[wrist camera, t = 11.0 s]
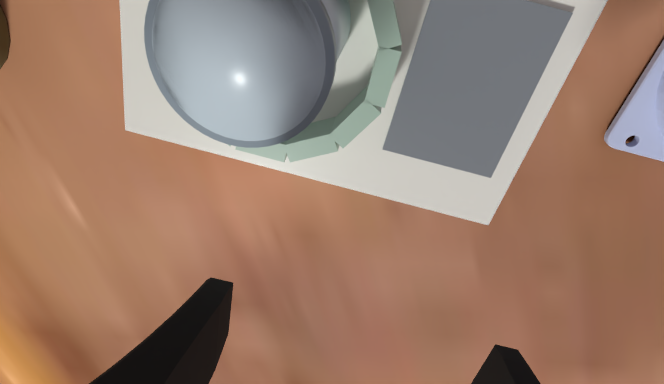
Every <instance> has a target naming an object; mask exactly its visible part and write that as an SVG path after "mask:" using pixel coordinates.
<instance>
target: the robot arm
mask: <svg viewBox="0 0 664 384" xmlns="http://www.w3.org/2000/svg"><path fill="white" fill-rule="evenodd" d="M630 136H635V137H634V140H633V141H631V142H629V143H625V142H626V139H627V138H629V137H630ZM604 140H605V142H606V143H607V144H608V145H609V146H610V147H612V148H614V149H618V150H622V151H626V152H630V153H633V154H637V155H641V156H645V157H649V158H652V159H656V160H660V161H664V40H663V42H662V43H661V45H660V46H659V48H658V50H657V51H656V53H655V54H654V56H653V58H652V59H651V61H650V62H649V64H648V66H647V67H646V69H645V70H644V72H643V74H642V75H641V77H640V78H639V80H638V82H637V83H636V85H635V86H634V88H633V90H632V91H631V93H630V94H629V96H628V98H627V99H626V101H625V102H624V104H623V106H622V107H621V109H620V110H619V112H618V114H617V115H616V117H615V118H614V120H613V122H612V123H611V125H610V126H609V128H608V130H607V131H606V133H605V136H604ZM232 291H233V283H232V282H228V281H223V280H219V279H215V278H210V279H208V280H206V281H205V282H204V284H203V285H202V286H201V287H200V288H199V289H198V290H197V291H196V292H195V293H194V294H193V295H192V296H191V297H190V298H189V299H188V300H187V301H186V302H185V303H184V304H183V305H182V306H181V307H180V308H179V309H178V310H177V311H176V312H175V313H174V314H173V315H172V316H171V317H169V318H168V319H167V320H166V321H165V322H164V323H163V324H162V325H161V326H160V327H158V328H157V329H156V330H155V331H154V332H153V333H152V334H151V335H150V336H148V337H147V338H146V339H145V340H144V341H143V342H141V343H140V344H139V345H138V346H136V347H135V348H134V349H133V350H132V351H130V352H129V353H128V354H127V355H126V356H124V357H123V358H122V359H121V360H119V361H118V362H117V363H116V364H114V365H113V366H112V367H111V368H109V369H108V370H107V371H105V372H104V373H103V374H101V375H100V376H99V377H97V378H96V379H95V380H93V381H92V382H91V383H89V384H209V381H210V379H211V377H212V375H213V373H214V371H215V369H216V366H217V363H218V361H219V358H220V355H221V352H222V350H223V347H224V344H225V341H226V338H227V336H228V331H229V321H230V311H231V301H232ZM471 384H540V382H539V381H538V379H537V378H536V376H535V375H534V373H533V372H532V370H531V369H530V367H529V366H528V364H527V363H526V361H525V360H524V358H523V357H522V355H521V354H520V352H519V351H518V350H516V349H512V348H508V347H504V346H500V345H495V346H494V348H493V349H492V351H491V352H490V354H489V356H488V357H487V359H486V361H485V362H484V364H483V365H482V367H481V369H480V370H479V372H478V373H477V375H476V377H475V378H474V380H473V382H472V383H471Z"/></svg>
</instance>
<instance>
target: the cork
mask: <svg viewBox="0 0 664 384" xmlns="http://www.w3.org/2000/svg"><path fill="white" fill-rule="evenodd" d="M9 45H10V37H9V31H8V25H7V20H6V17H5V15H4V13H3V10H2V8H1V6H0V69H1V67H2V66H3V64H4V63H5V61H6V60H7V58H8V51H9Z"/></svg>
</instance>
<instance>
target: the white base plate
mask: <svg viewBox="0 0 664 384" xmlns="http://www.w3.org/2000/svg"><path fill="white" fill-rule="evenodd" d="M149 1H150V0H120V21H121V44H122V67H123V90H124V113H125V130H127V131H131V132H134V133H138V134H142V135H146V136H150V137H153V138H157V139H161V140H165V141H169V142H173V143H176V144H180V145H184V146H188V147H192V148H195V149H199V150H203V151H207V152H211V153H215V154H218V155H222V156H226V157H230V158H234V159H237V160H241V161H245V162H249V163H253V164H256V165H260V166H264V167H268V168H272V169H276V170H279V171H283V172H287V173H291V174H295V175H298V176H302V177H306V178H310V179H314V180H318V181H321V182H325V183H329V184H333V185H337V186H340V187H344V188H348V189H352V190H356V191H359V192H363V193H367V194H371V195H375V196H379V197H382V198H386V199H390V200H394V201H398V202H401V203H405V204H409V205H413V206H417V207H420V208H424V209H428V210H432V211H436V212H440V213H443V214H447V215H451V216H455V217H459V218H462V219H466V220H470V221H474V222H478V223H482V224H485V225H489V223H490V221H491V219H492V217H493V215H494V214H495V212H496V210H497V208H498V206H499V204H500V202H501V200H502V199H503V197H504V195H505V193H506V191H507V189H508V187H509V185H510V183H511V182H512V180H513V178H514V176H515V174H516V172H517V170H518V168H519V166H520V165H521V163H522V161H523V159H524V157H525V155H526V153H527V151H528V149H529V148H530V146H531V144H532V142H533V140H534V138H535V136H536V134H537V133H538V131H539V129H540V127H541V125H542V123H543V121H544V119H545V117H546V116H547V114H548V112H549V110H550V108H551V106H552V104H553V102H554V100H555V99H556V97H557V95H558V93H559V91H560V89H561V87H562V85H563V84H564V82H565V80H566V78H567V76H568V74H569V72H570V70H571V68H572V67H573V65H574V63H575V61H576V59H577V57H578V55H579V53H580V51H581V50H582V48H583V46H584V44H585V42H586V40H587V38H588V36H589V35H590V33H591V31H592V29H593V27H594V25H595V23H596V21H597V19H598V18H599V16H600V14H601V12H602V10H603V8H604V6H605V4H606V2H607V1H608V0H348V2H349V6H350V13H351V24H350V31H349V36H348V39H347V42H346V44H345V46H344V48H343V50H342V52H341V54H340V56H339V58H338V60H337V62H336V72H335V76H334V81H333V84H332V87H331V90H330V92H329V95H328V97H327V99H326V101H325V103H324V105H323V107H322V109H321V111H320V112H319V113H318V115H317V116H316V118H315V119H314V120H313V121H312V122H311V123H310V124H309V125H308V126H307V127H306V128H305V129H304V130H303V131H301V132H300V133H299V134H298V135H296V136H294V137H292V138H291V139H289V140H287V141H284V142H282V143H279V144H276V145H272V146H268V147H259V148H245V147H238V146H233V145H229V144H225V143H222V142H219V141H217V140H214V139H212V138H210V137H208V136H206V135H204V134H202V133H201V132H199V131H198V130H196V129H195V128H193V127H192V126H191V125H190V124H188V123H187V122H186V121H185V120H183V119H182V118H181V117H180V116H179V115H178V114H177V113H176V112H175V110H174V109H173V108H172V107H171V106H170V104H169V103H168V102H167V100H166V99H165V97H164V96H163V94H162V93H161V91H160V89H159V88H158V86H157V84H156V82H155V80H154V77H153V75H152V72H151V69H150V67H149V63H148V59H147V55H146V49H145V42H144V25H145V15H146V11H147V7H148V3H149Z"/></svg>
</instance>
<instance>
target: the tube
mask: <svg viewBox="0 0 664 384" xmlns="http://www.w3.org/2000/svg"><path fill="white" fill-rule="evenodd" d="M350 24H351V13H350V6H349V2H348V0H150V1H149V3H148V7H147V11H146V15H145V25H144V42H145V49H146V55H147V59H148V63H149V67H150V69H151V72H152V75H153V77H154V80H155V82H156V84H157V86H158V88H159V89H160V91H161V93H162V94H163V96H164V97H165V99H166V100H167V102H168V103H169V104H170V106H171V107H172V108H173V109H174V110H175V112H176V113H177V114H178V115H179V116H180V117H181V118H182V119H183V120H185V121H186V122H187V123H188V124H190V125H191V126H192V127H193V128H195V129H196V130H198V131H199V132H201V133H202V134H204V135H206V136H208V137H210V138H212V139H214V140H217V141H219V142H222V143H225V144H229V145H233V146H238V147H245V148H259V147H268V146H272V145H276V144H279V143H282V142H284V141H287V140H289V139H291V138H292V137H294V136H296V135H298V134H299V133H300V132H301V131H303V130H304V129H305V128H306V127H307V126H308V125H309V124H310V123H311V122H312V121H313V120H314V119H315V118H316V116H317V115H318V113H319V112H320V111H321V109H322V107H323V105H324V103H325V101H326V99H327V97H328V95H329V92H330V90H331V87H332V84H333V81H334V76H335V72H336V62H337V60H338V58H339V56H340V54H341V52H342V50H343V48H344V46H345V44H346V42H347V39H348V36H349V31H350Z"/></svg>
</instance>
